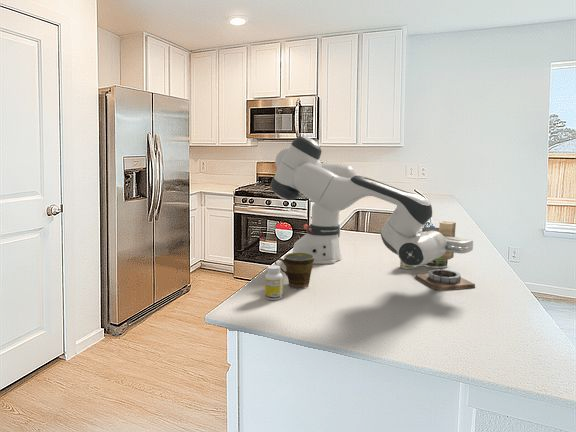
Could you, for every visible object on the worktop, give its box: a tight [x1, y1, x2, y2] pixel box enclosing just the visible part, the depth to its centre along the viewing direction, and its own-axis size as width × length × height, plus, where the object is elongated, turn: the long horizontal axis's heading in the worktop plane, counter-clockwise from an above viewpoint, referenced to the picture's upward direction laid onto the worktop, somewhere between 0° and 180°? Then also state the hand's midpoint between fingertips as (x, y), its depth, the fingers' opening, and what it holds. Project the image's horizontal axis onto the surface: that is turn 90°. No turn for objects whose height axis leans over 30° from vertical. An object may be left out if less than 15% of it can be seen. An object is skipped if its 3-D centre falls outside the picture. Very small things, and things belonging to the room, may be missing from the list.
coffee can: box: [421, 227, 449, 269], centre depth 172 cm, size 10×10×14 cm
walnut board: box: [414, 273, 476, 292], centre depth 151 cm, size 14×14×1 cm
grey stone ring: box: [428, 268, 462, 284], centre depth 151 cm, size 10×10×2 cm
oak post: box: [438, 220, 457, 260], centre depth 148 cm, size 4×4×12 cm
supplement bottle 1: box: [264, 264, 284, 301], centre depth 135 cm, size 5×5×10 cm
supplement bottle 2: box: [399, 259, 416, 270], centre depth 169 cm, size 5×5×10 cm
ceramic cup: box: [274, 252, 314, 289], centre depth 146 cm, size 13×10×10 cm
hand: (447, 238), depth 149 cm, fingers closed on oak post, 4 cm apart
